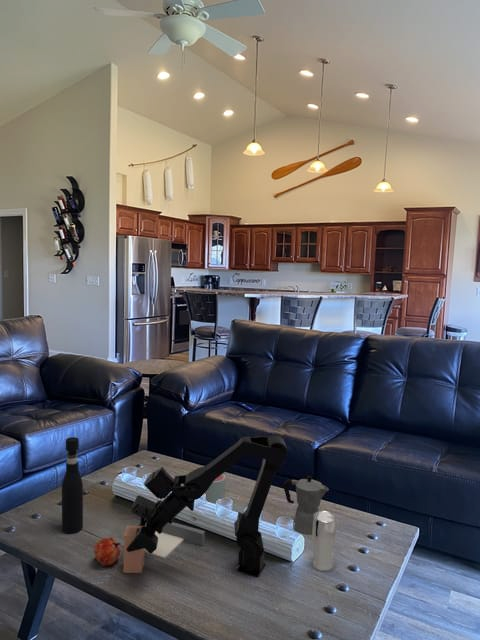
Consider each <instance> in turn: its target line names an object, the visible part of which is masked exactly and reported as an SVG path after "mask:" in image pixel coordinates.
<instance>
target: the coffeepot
mask: <svg viewBox="0 0 480 640" xmlns="http://www.w3.org/2000/svg"><path fill="white" fill-rule="evenodd" d="M289 486H292V487H295V492H296V493H295V494H296V502H297V507H296V510H295V511H296V512H295V516H294V519H293V523H295V528H294V530H295V531H296V532H298V531H299V532H298V533H300V534H304V535H312V526H313V518H314V514H315V513H316V512H318V511H319V506H320V505H321V500H322V499H323V497H324V495H325V494H326V493H327V492H330V491H329V490H330V489H329V487H327V486H325V485H324V484H323V483H322V482H320V481H318V480H315V479H313V477H312V475H307V476H306V478H301V479H299V480H296V479H289V478H288V479H286V480H285V481H284V482H283V484H282V487H283V491H284V494H285V499H286V501H287V503H289V504H292V505H293V504H294V503H295V501H294V500H292V499H291V494H290V493H291V492H290V488H289Z"/></svg>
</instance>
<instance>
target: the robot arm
mask: <svg viewBox="0 0 480 640" xmlns="http://www.w3.org/2000/svg"><path fill="white" fill-rule="evenodd" d="M247 456H250V457H251V456H252V457H255V458H258V459H262V462H261V463H262V465H261V467H260V470H259V473H258V476H257V478H256V482H255V485H254V487H253V490H252V493H251V495H250V498H249V501H248V505H247V507H246V509H245V510H244V512H243V513H242V512H241V511H238V512H237V516H236V517H237V518H236V520H235V521H234V524H233V525H234V527H233V528H234V536H235V541H236V544H237V545H238V547H239V551H238V555H237V556H238V557H237V558H238V559H237V561H238V562H237V565H238V567H237V569H236V571H237V572H239V573H242V574H246V575H249V576H253V577H255V578H258V577H259V576H260V575H261V573H262V572H263V570H264V568H265V567H266V563H265V560H264V559H265V547H264V542H263V537H262V536H263V535H262V533H261V531H259V526H260V525H259V524H260V517H261V515H262V513H263V509H264V507H265V503H266V501H267V497H268V495H269V493H270V489H271V487H272V483H273V481H274V478H275V475H276V473H277V472H278V471H279V470H280V468H282V466H283V464H284V462H285V460H286V459H287V457H288V448H287V446H286V443H285V441H284V439H283V438H282V437H281V436H280V435H277V434H276V435H275V434H273V435H270V436H264V435H260V436H241V438H240V439H239V440H238V441H237V442H236V443H234V444H233V445H232V446H231V447H229V448H227V449H226V450H225V451H224V452H223V453H221V454H219V455H218V456H217V457H216V458H215V459H213V460H212V461H211V462H210V463H208V464H207V465H204V466H200V467H198V468H196V469H194V470H192V471H190V472H189V473H187V474H182V475H175V476H174V477H172V476H171V475H170V474H169V473H168V472H167V470H166V469H165V468H164V467H162V466H161V467H159V469H156V470H154V471H153V472H151V473H150V475H148V477H147V478H146V479H145V481H144V482H143V486H144V487H145V488H146V489H147V490H148V491H149V492H151V493H152V495H154V497H156V498H157V499H158V500H157V501H156V502H155V501H154V500H153V501H152V500H150V499H149V498H147V497H145V496H142V495H137V496H136V497H135V499H134V501H133V504H132V506H131V509H130V512H131V513H132V514H134V515H135V516H137V517H140V522H139V524H138V526H145V527H141V528H140V529H138V528H137V531H136V537H135V539H134V540H133V541H132V542H131V544H130V545H129V546H128V548H127V549H126V550H127V551H128V552H132V551H135V550H139V549H144V548H145V549H146V550H147V551H148V552H149V553H153V552H154V551H155V550H156V549H157V544H158V537H157V536H156V535H155V532H156V531H157V532H158V533H159V534H160V533H162V530H163V528H164V527H165V526H166V525H167V524H168V523H169V524H171V523H172V522H174V519H175V518H176V517H177V516H178V515H179V514H180V513H181V512H182V511H183V510H184V509H185V508H186V507H187V508H188V509H189V510H190V511H191V512H193V511H194V509H195V501H197V500H199V498H200V497H201V496H202V495H203V494H204V493H205V492H206V491H207V490H208V489H209V487H210V486H211V484H212V483H213V482H214V480H215V479H216V478H218V477H219V476H220V475H222V474H224V473H226V472H227V471H228V470H229V469H231V468H232V467H234V465H236V464H238V463H239V462H240V461H242V459H244V458H245V457H247ZM159 499H160V500H159ZM162 499H163V500H162Z"/></svg>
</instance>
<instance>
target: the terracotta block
mask: <svg viewBox="0 0 480 640" xmlns="http://www.w3.org/2000/svg"><path fill="white" fill-rule="evenodd" d="M141 527H145V526H139V525H127V526H126V528H125V531H124V534H123V573H125V574H131V573H132V574H135V573H136V574H138V573H139V574H142V573H143V570H144V569H143V567H144V565H145V553H144V549H139V550H135V551H132V552H128V551H127V550H126V549H127V548H128V546H129V545H130V544H131V542H132V541H133V540H134V539H135V537H136V531H137V528H138V529H140V528H141Z"/></svg>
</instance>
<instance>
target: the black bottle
mask: <svg viewBox="0 0 480 640" xmlns="http://www.w3.org/2000/svg"><path fill="white" fill-rule="evenodd" d="M79 440H80V439H79V438H78V437H73V436H72V437H67V438H66V439H65V451H66V452H67V457H66V463H65V474H64V477H63V479H62V484H61V532H63V533H64V534H67V535H73V534H76V533H79V532H80V531H82V530H83V529H84V496H83V495H84V486H83V480H82V475H81V473H80V471H79V459H78V456H77V451H78V450H79V447H80V445H79V444H80V443H79Z"/></svg>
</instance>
